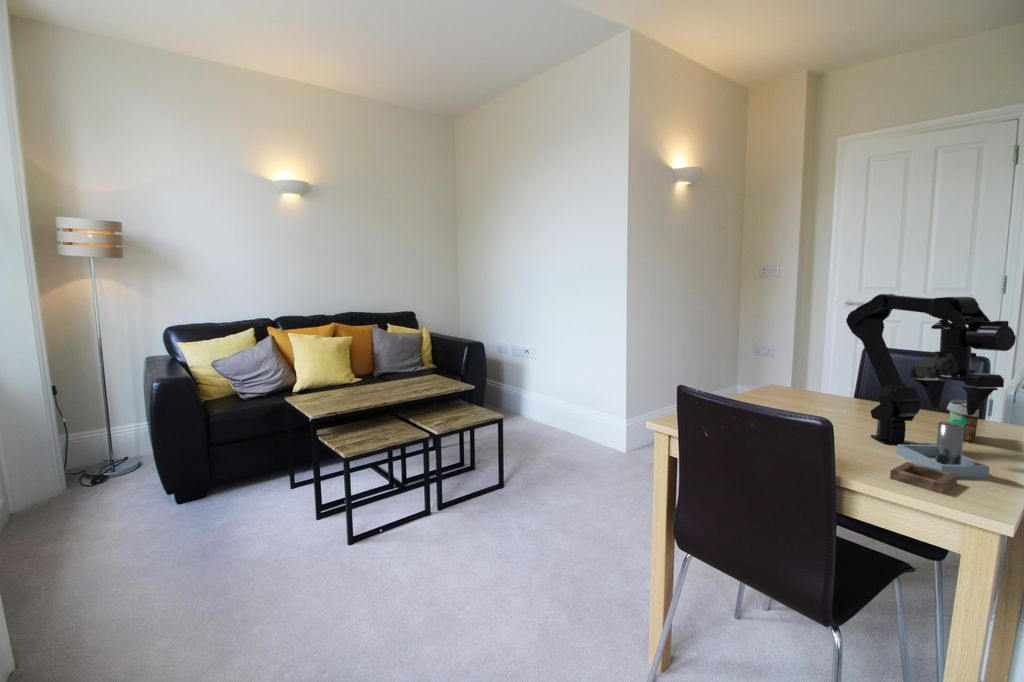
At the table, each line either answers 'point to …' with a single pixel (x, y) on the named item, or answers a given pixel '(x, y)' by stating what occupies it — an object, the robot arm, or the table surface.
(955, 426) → the metallic grey cylinder
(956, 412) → the food container
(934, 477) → the socket block
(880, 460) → the table surface
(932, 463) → the tray
